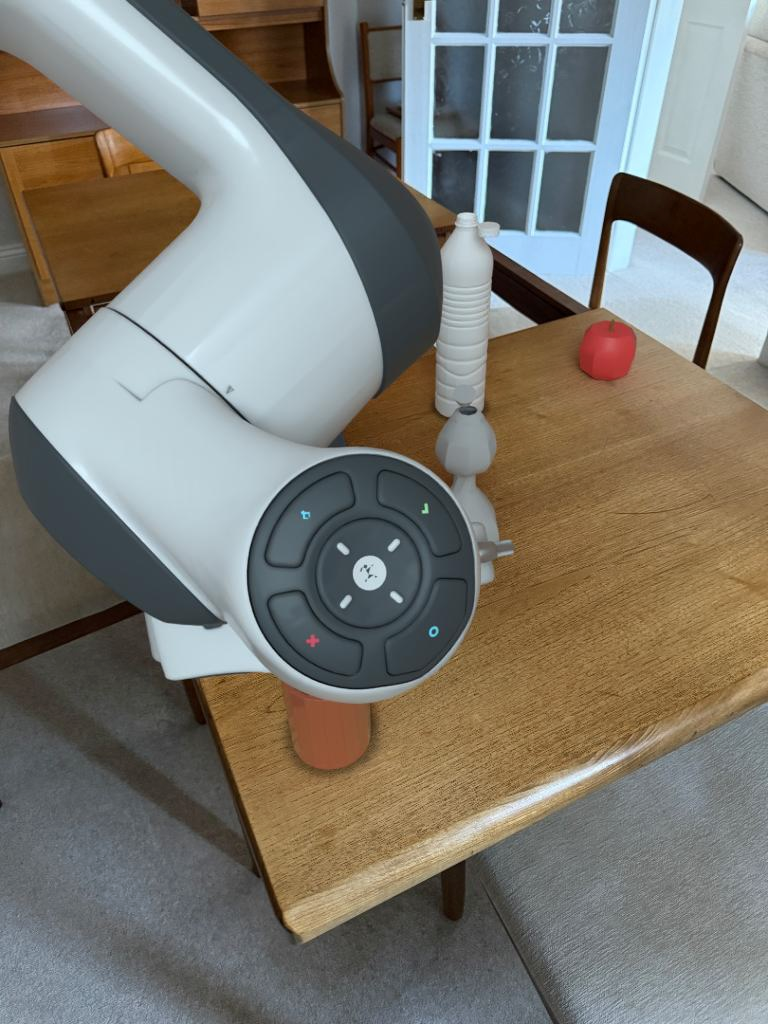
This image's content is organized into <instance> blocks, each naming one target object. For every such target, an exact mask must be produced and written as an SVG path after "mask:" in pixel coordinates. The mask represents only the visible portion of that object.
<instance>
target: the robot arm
mask: <svg viewBox="0 0 768 1024" xmlns="http://www.w3.org/2000/svg"><path fill="white" fill-rule="evenodd" d="M0 51H2V52H4V53H7V54H9V55H12V56H13V57H16V58H18V59H19V60H21V61H23V62H25V63H26V64H28V65H29V66H31V67H32V68H34V69H35V70H37V71H38V72H39V73H41V74H42V75H43V76H45V77H46V78H48V80H50V81H51V82H52V83H53V84H55V85H56V86H58V87H59V88H60V89H61V90H62V91H63V92H65V93H66V94H68V95H69V96H70V97H71V98H73V99H74V100H75V101H76V102H78V103H79V104H80V105H82V106H83V107H84V108H85V109H87V110H88V111H89V112H91V114H93V115H94V116H96V117H97V118H98V119H99V120H101V121H102V122H103V123H104V124H106V125H107V126H109V128H111V129H112V130H113V131H115V132H116V133H117V134H119V135H120V136H121V137H122V138H124V139H125V140H126V141H127V142H129V143H130V144H131V145H132V146H133V147H135V148H136V149H138V150H139V151H140V152H141V153H143V154H144V155H145V156H146V157H148V158H149V159H150V160H152V161H153V162H154V163H155V164H156V165H158V166H159V167H161V168H162V169H163V170H164V171H166V172H167V173H168V174H170V176H172V177H173V178H175V179H176V180H177V181H178V182H180V183H181V184H182V185H183V186H185V187H186V188H187V189H188V190H190V191H191V192H192V193H193V194H194V195H195V196H196V197H197V198H198V200H199V201H200V207H199V210H198V213H197V214H196V216H195V217H194V219H193V220H192V221H191V223H190V224H189V225H188V226H187V227H186V228H185V229H184V230H183V231H182V232H181V233H180V234H179V235H178V236H177V237H175V239H174V240H173V241H171V243H169V244H168V245H167V246H166V247H165V248H164V249H163V250H162V251H161V252H160V253H159V254H158V255H157V256H156V257H155V258H154V259H153V260H152V261H151V262H150V263H149V264H148V265H147V266H146V267H145V268H144V269H143V270H141V272H139V274H138V275H136V277H134V278H133V279H132V281H130V282H129V283H128V285H126V286H125V287H124V288H123V289H122V290H121V291H120V292H119V293H118V294H117V295H116V296H115V297H114V298H113V299H112V300H111V301H109V303H108V304H107V305H106V306H104V307H103V306H102V307H100V308H99V309H98V310H97V311H96V312H94V314H92V316H91V317H90V318H89V319H88V320H87V321H86V322H84V324H83V325H81V327H79V328H78V329H77V330H76V331H75V332H74V333H73V334H72V335H71V336H70V337H69V338H68V339H67V340H66V341H65V342H64V343H63V344H62V345H61V346H60V347H59V348H58V349H57V350H56V351H55V352H54V353H53V354H52V355H51V356H50V357H49V358H48V359H47V361H46V362H44V363H43V364H42V365H41V366H40V367H39V369H38V370H36V371H35V373H34V374H33V375H32V376H31V377H30V378H29V379H28V380H27V381H26V382H25V383H24V385H22V387H21V388H20V389H19V390H18V392H16V393H15V395H12V396H11V398H10V402H9V409H8V417H7V418H8V422H7V423H8V424H7V427H8V429H7V430H8V439H9V447H10V454H11V458H12V465H13V469H14V474H15V478H16V482H17V486H18V490H19V494H20V496H21V498H22V500H23V502H24V504H25V505H26V507H27V508H28V510H29V511H30V512H31V514H32V515H33V517H34V518H35V519H36V521H37V522H38V524H40V525H41V526H42V527H43V529H44V530H45V531H46V532H47V533H48V534H49V535H50V536H51V537H52V538H53V540H54V541H56V542H57V544H59V545H60V547H62V548H63V549H64V550H65V552H66V553H68V554H69V556H71V557H72V558H73V559H74V560H75V561H76V562H77V563H78V564H79V565H81V566H82V567H83V568H84V569H85V570H86V571H88V573H90V574H91V575H92V576H94V577H95V578H96V579H97V580H98V581H100V582H101V583H102V584H104V585H105V586H106V587H108V588H109V590H111V591H113V592H114V593H115V594H117V595H118V596H120V597H121V598H123V599H124V600H125V601H127V602H128V603H130V604H131V605H132V606H134V607H136V608H137V609H139V610H141V611H142V612H143V614H144V620H145V626H146V630H147V637H148V641H149V648H150V652H151V656H152V658H153V659H154V661H156V662H158V663H160V664H161V667H162V672H163V674H164V677H165V678H166V679H167V680H170V681H182V680H188V679H192V680H199V679H206V678H213V677H220V676H221V677H223V676H230V675H231V676H232V675H245V674H251V673H264V674H265V673H266V674H272V675H273V676H275V677H276V678H278V680H280V681H281V680H282V681H284V682H285V683H287V684H288V685H290V686H292V687H294V688H295V689H297V690H299V691H301V692H304V693H306V694H309V695H311V696H314V697H317V698H321V699H324V700H329V701H334V702H340V703H349V704H363V703H369V704H372V703H378V702H382V701H386V700H389V699H392V698H395V697H398V696H400V695H402V694H404V693H406V692H408V691H410V690H412V689H414V688H416V687H417V686H418V685H420V684H423V682H426V680H428V679H429V678H431V677H432V676H434V675H435V674H436V673H437V672H438V671H439V670H441V669H442V668H443V667H444V666H445V665H446V664H447V663H448V662H449V661H450V659H452V657H453V656H454V655H455V654H456V652H457V650H458V649H459V648H460V646H461V645H462V643H463V642H464V640H465V638H466V635H467V633H468V631H469V629H470V627H471V625H472V622H473V620H474V617H475V614H476V610H477V606H478V603H479V599H480V593H481V587H482V586H484V585H488V584H489V583H492V582H493V581H494V580H495V578H496V575H495V569H494V568H495V567H494V564H493V561H494V560H496V559H497V558H499V557H504V556H505V557H506V556H510V555H514V554H515V548H516V546H515V544H514V543H513V541H512V539H510V538H509V539H504V540H499V542H493V541H488V539H487V535H486V530H485V526H484V525H483V524H482V523H480V522H470V520H469V517H468V515H467V513H466V511H465V509H464V508H463V506H462V504H461V503H460V501H459V500H458V498H457V497H456V495H455V494H454V493H453V491H452V490H451V489H450V488H449V487H450V486H449V485H448V484H447V483H446V482H445V481H443V479H442V478H441V477H439V476H438V474H436V473H434V472H433V471H432V470H431V469H430V468H428V467H426V466H424V465H423V464H421V463H420V462H418V461H416V460H414V459H412V458H410V457H408V456H406V455H403V454H400V453H398V452H395V451H391V450H388V449H384V448H379V447H371V446H347V447H338V448H327V447H328V446H329V445H330V444H331V443H332V442H333V440H334V439H335V438H336V437H337V436H338V435H339V434H340V433H341V432H342V433H343V431H344V430H345V429H346V428H347V426H348V425H350V423H351V422H352V421H353V420H354V418H355V417H356V416H357V415H358V414H359V413H360V412H362V410H363V409H364V407H366V405H367V404H368V403H369V402H370V401H372V400H375V399H377V398H378V397H379V396H380V395H382V394H383V393H384V391H386V390H387V389H388V388H389V387H390V386H392V385H393V383H395V382H396V381H397V380H398V379H399V378H400V377H401V376H402V375H403V374H404V373H406V372H407V371H408V370H409V369H410V368H411V367H412V366H413V365H414V364H415V363H417V361H419V359H421V357H423V356H424V355H425V354H427V352H428V351H429V350H430V349H431V348H433V346H434V345H436V341H437V339H438V336H439V332H440V326H441V317H442V306H443V270H442V259H441V252H440V250H441V246H440V243H439V242H440V241H439V238H438V237H439V236H438V234H437V231H436V229H435V226H434V224H433V222H432V220H431V219H430V217H429V214H428V213H427V211H426V210H425V209H424V207H423V206H422V205H421V203H420V202H419V201H418V199H417V198H416V196H414V194H412V192H411V191H410V190H409V189H408V187H406V186H405V185H404V184H403V183H402V182H401V181H400V180H399V178H397V177H396V176H395V175H394V174H392V172H390V171H389V170H388V169H387V168H386V167H384V166H383V165H381V164H380V163H379V162H378V161H377V160H376V159H374V158H373V157H371V156H370V155H368V154H367V153H366V152H365V151H363V150H361V149H360V148H359V147H357V146H356V145H354V144H353V143H351V142H350V141H348V140H347V139H345V138H343V136H341V135H339V134H338V133H336V132H334V131H333V130H331V129H330V128H329V127H326V126H325V125H323V124H322V123H321V122H319V121H317V120H316V119H315V118H313V117H311V116H310V115H309V114H307V113H306V112H304V111H303V110H301V109H300V108H299V107H297V105H294V103H292V102H290V101H289V100H288V99H287V98H286V97H284V96H283V95H282V94H281V93H280V92H278V91H277V90H276V89H275V88H273V87H272V86H271V85H270V84H269V83H268V82H267V81H266V80H265V79H263V78H262V77H261V76H260V75H259V74H258V73H256V72H255V71H254V70H253V69H252V68H251V67H250V66H248V65H247V63H245V62H244V61H243V60H242V59H241V58H239V57H238V56H237V55H236V54H234V52H233V51H231V50H230V49H229V48H228V47H227V46H225V45H224V44H223V43H222V42H221V41H220V40H219V39H217V37H215V36H214V35H213V34H212V33H210V31H208V30H207V29H206V28H205V27H204V26H203V25H201V23H200V22H198V21H197V20H196V19H195V18H194V17H192V15H191V14H190V13H188V12H187V11H186V10H185V9H184V8H182V7H181V6H180V5H179V3H177V2H176V1H175V0H0Z"/></svg>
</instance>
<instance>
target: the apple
mask: <svg viewBox="0 0 768 1024" xmlns="http://www.w3.org/2000/svg"><path fill="white" fill-rule="evenodd" d="M578 351H579V363H580V364H579V369H581V370H582V371H584V372H585V373H587V374H588V375H589V376H590V377H592V378H593V380H596V381H597V380H598V381H607V382H608V381H612V380H617V379H620V378H622V377H625V376H627V375H628V374H629V371H630V368H631V366H632V364H633V362H634V359H635V356H636V352H637V336H636V333H635V331H634V329H633V328H632V327H631V326H629V325H627V324H625V323H624V322H623V321H615V319H611V320H604V319H603V320H601V321H597V322H595V323H594V322H593V323H592V324H591V325H590V326H589V327H587V329H586V330H585V332H584V335H583V337H582V339H581V343H580V346H579V349H578Z"/></svg>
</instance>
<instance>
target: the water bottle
mask: <svg viewBox="0 0 768 1024" xmlns="http://www.w3.org/2000/svg"><path fill="white" fill-rule="evenodd" d="M454 225H455V228H454V229H453V231H452V232H451V234H450V235H449V237H448V238H447V240H446V241H445V243H444V244H443V245H442V247H440V252H441V259H442V270H443V306H442V317H441V326H440V332H439V336H438V339H437V341H436V343H435V349H436V350H435V361H436V363H435V379H434V380H435V381H434V382H435V383H434V386H435V392H434V407H435V409H436V411H437V412H438V413H439V414H440V415H441V416H443V417H446V418H450V417H451V415H452V414H453V413H454V412H455V410H456V409H457V408H459V407H461V406H459V405H458V404H457V402H456V401H455V399H454V397H453V391H454V389H455V388H456V387H457V386H459V385H470V386H472V387H473V388H474V389H475V391H476V397H475V399H474V400H473V402H472V403H471V404H470V405H469V406H473V407H476V408H478V409H479V411H480V412H481V413H482V411H483V410H484V407H485V397H486V396H485V393H486V392H485V390H486V375H487V360H488V347H489V332H490V311H491V297H492V282H493V279H492V277H493V271H494V255H493V252H492V249H491V247H490V245H489V244H488V242H487V240H486V239H493V238H497V237H499V236H500V233H501V231H500V230H501V225H500V224H499V223H498V222H494V221H482V222H479V221H478V215H477V214H476V213H474V212H460V213H458V214H457V215H456V219H455V222H454Z"/></svg>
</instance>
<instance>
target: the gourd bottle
mask: <svg viewBox="0 0 768 1024" xmlns="http://www.w3.org/2000/svg"><path fill="white" fill-rule="evenodd" d="M453 397H454V399H455V401H456V402H457V404H458V405H459V406H461V407H459V408H457V409H456V410H455V412H454V413H453V414H452V415H451V417H448V419H447V421H446V422H445V424H444V425H443V427H442V429H441V430H440V432H439V433H438V435H437V439H436V442H435V447H434V448H435V449H434V451H435V452H434V453H435V457H436V459H437V460H438V462H439V463H440V464H441V465H442V466H443V468H444V469H445V470H446V472H447V473H448V474H451V475H452V474H453V478H452V479H453V480H452V484H451V486H448V487H449V488H450V489H451V490H452V491H453V493H454V494H455V495H456V497H457V498H458V500H459V501H460V503H461V504H462V506H463V508H464V509H465V511H466V513H467V515H468V517H469V520H470V522H480V523H482V524H483V525H484V526H485V530H486V535H487V539H488V541H493V542H499V541H500V533H499V532H500V531H499V527H498V520H497V515H496V510H495V508H494V506H493V504H492V502H491V500H490V499H489V498H488V497H487V496H486V494H485V493H484V492H483V491H482V490H481V489H480V488H479V487H478V486H477V484H476V480H477V479H476V478H477V477H476V475H480V474H482V473H486V472H487V471H488V469H489V468H490V466H491V464H492V462H493V460H494V458H495V456H496V454H497V450H498V449H497V448H498V443H497V438H496V434H495V433H496V432H495V431H494V429H493V428H492V426H491V424H490V423H489V422H488V420H487V419H486V417H485V415H484V413H483V412H482V411H481V412H480V411H479V409H478V408H476V407H473V406H469V405H470V404H471V403H472V402H473V400H474V399H475V397H476V391H475V389H474V388H473V387H472V386H470V385H459V386H457V387H456V388H455V389H454V391H453Z"/></svg>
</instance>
